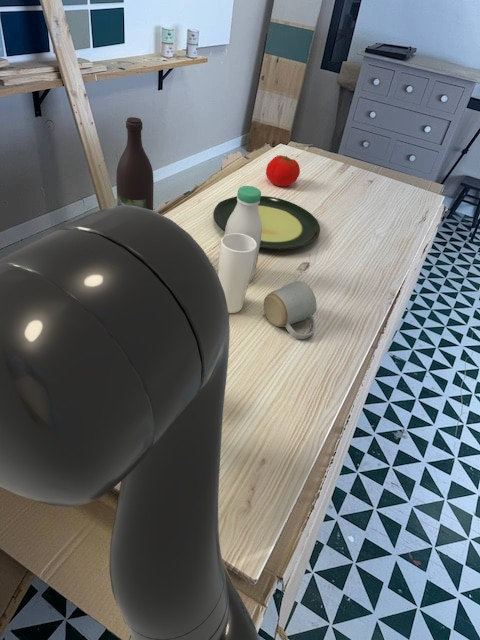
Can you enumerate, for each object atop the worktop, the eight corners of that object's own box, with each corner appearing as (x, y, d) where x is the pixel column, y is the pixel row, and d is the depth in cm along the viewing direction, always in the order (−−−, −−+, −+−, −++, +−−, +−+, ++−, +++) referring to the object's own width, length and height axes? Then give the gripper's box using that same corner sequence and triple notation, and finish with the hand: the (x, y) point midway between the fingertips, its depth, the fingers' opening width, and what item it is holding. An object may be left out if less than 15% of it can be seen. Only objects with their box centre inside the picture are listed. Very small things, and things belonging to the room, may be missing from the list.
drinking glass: (249, 301, 97) (261, 238, 87) (241, 320, 92) (252, 255, 82) (218, 292, 97) (226, 229, 88) (208, 311, 92) (215, 246, 83)
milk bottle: (251, 287, 100) (267, 202, 88) (216, 280, 101) (226, 194, 88) (256, 268, 106) (271, 185, 93) (223, 261, 107) (233, 178, 94)
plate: (195, 236, 113) (195, 227, 112) (233, 193, 134) (234, 185, 133) (305, 269, 109) (308, 260, 107) (327, 219, 130) (329, 211, 128)
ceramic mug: (257, 314, 94) (264, 284, 89) (288, 302, 98) (296, 273, 93) (292, 347, 88) (301, 316, 83) (322, 333, 92) (333, 303, 87)
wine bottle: (113, 258, 102) (105, 115, 83) (139, 248, 106) (138, 111, 87) (132, 273, 99) (129, 128, 79) (159, 262, 103) (162, 123, 84)
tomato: (261, 176, 146) (265, 150, 141) (292, 178, 149) (297, 152, 143) (267, 189, 140) (272, 162, 134) (300, 191, 142) (306, 164, 136)
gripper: (239, 442, 48) (209, 333, 61) (94, 460, 45) (93, 340, 57) (230, 480, 53) (204, 373, 65) (99, 500, 49) (97, 382, 62)
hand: (152, 358), depth 61 cm, fingers closed on front cup, 6 cm apart
